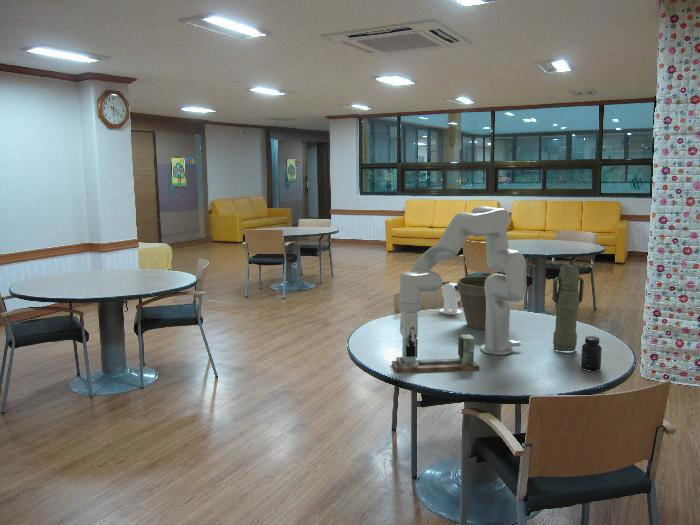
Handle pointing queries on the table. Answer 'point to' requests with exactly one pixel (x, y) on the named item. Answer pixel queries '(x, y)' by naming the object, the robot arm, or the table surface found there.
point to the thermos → (567, 307)
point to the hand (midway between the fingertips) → (409, 353)
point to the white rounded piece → (450, 298)
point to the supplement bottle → (591, 354)
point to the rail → (443, 360)
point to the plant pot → (473, 300)
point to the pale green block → (404, 357)
